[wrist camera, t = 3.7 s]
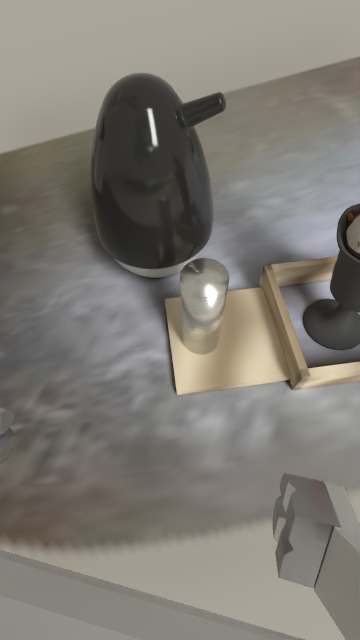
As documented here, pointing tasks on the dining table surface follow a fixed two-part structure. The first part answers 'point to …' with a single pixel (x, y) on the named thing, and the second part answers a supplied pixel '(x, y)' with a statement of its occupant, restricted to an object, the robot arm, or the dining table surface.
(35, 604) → the robot arm
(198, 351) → the wooden frame tray
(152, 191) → the pump dispenser
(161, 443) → the dining table surface
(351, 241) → the sundae
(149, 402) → the dining table surface
